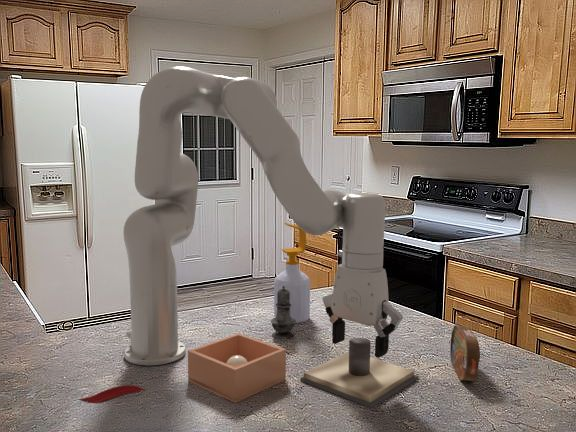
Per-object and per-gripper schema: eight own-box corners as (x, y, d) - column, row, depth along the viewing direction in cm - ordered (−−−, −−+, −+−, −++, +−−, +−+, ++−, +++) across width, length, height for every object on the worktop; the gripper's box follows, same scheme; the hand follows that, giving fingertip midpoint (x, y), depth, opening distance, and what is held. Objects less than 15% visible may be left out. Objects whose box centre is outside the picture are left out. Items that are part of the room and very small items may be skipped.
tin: (448, 357, 118) (450, 318, 117) (463, 358, 118) (465, 319, 117) (462, 388, 103) (465, 344, 102) (480, 389, 103) (483, 345, 102)
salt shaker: (293, 341, 127) (293, 289, 125) (268, 339, 128) (268, 288, 126) (297, 332, 132) (298, 283, 131) (273, 330, 134) (274, 281, 132)
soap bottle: (270, 314, 146) (270, 221, 142) (302, 311, 148) (304, 220, 145) (279, 325, 137) (280, 226, 134) (314, 322, 140) (316, 225, 137)
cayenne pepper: (75, 407, 96) (74, 396, 95) (79, 395, 100) (78, 385, 100) (147, 401, 98) (146, 390, 98) (148, 389, 103) (147, 379, 102)
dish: (188, 381, 105) (187, 350, 104) (238, 361, 115) (238, 333, 114) (235, 403, 97) (235, 369, 96) (285, 379, 106) (285, 349, 105)
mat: (300, 380, 106) (300, 377, 106) (349, 356, 118) (350, 354, 118) (372, 408, 95) (372, 404, 95) (418, 378, 107) (418, 375, 107)
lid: (303, 377, 106) (303, 342, 105) (349, 355, 117) (350, 323, 116) (370, 402, 96) (371, 363, 95) (413, 375, 107) (415, 340, 106)
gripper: (313, 255, 106) (311, 342, 109) (392, 271, 95) (387, 367, 97) (337, 250, 112) (334, 332, 114) (414, 264, 100) (409, 355, 103)
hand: (359, 348), depth 106 cm, fingers open, 9 cm apart
